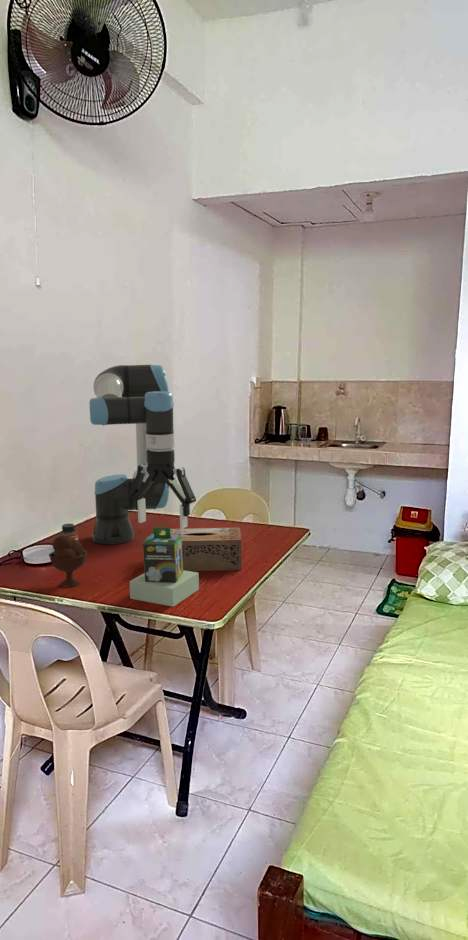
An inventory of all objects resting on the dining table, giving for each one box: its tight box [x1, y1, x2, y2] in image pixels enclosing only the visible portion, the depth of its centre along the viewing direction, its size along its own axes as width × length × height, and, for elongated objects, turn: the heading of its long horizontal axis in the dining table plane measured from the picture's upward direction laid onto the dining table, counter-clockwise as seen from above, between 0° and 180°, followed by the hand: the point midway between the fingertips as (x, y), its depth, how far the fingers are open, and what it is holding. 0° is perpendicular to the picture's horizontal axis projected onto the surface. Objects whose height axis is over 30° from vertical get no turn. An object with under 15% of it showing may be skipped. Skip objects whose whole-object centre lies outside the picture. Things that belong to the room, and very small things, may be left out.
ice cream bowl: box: [48, 535, 88, 587], centre depth 186 cm, size 11×11×15 cm
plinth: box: [129, 570, 200, 607], centre depth 178 cm, size 14×14×5 cm
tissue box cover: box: [160, 527, 243, 572], centre depth 204 cm, size 26×14×10 cm, turn 91°
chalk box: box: [142, 526, 183, 583], centre depth 176 cm, size 9×9×15 cm
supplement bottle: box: [59, 523, 79, 541], centre depth 211 cm, size 6×6×11 cm
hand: (162, 524), depth 175 cm, fingers open, 13 cm apart
